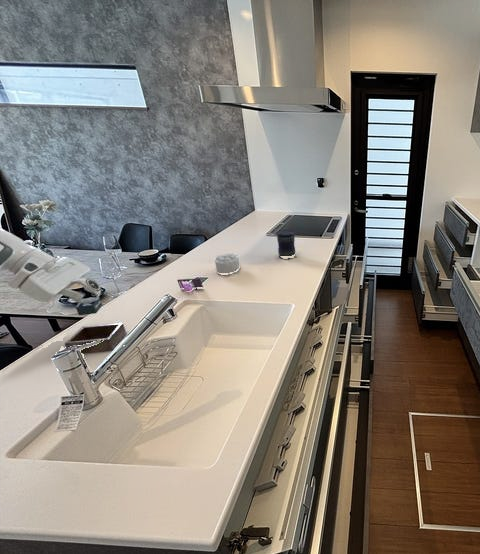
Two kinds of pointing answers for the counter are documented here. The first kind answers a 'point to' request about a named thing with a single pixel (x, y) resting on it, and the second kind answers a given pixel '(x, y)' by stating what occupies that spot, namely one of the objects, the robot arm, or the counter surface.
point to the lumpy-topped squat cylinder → (227, 264)
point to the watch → (88, 304)
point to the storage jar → (286, 242)
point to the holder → (98, 337)
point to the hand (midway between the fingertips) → (87, 293)
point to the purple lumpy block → (188, 287)
